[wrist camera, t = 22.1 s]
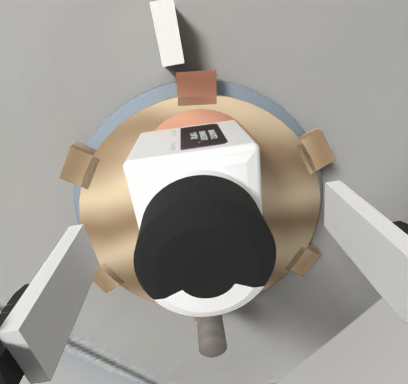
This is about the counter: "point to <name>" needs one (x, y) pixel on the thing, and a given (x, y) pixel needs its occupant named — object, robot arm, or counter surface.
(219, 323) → the index wheel
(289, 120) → the wheel base
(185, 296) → the container
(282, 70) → the counter surface
